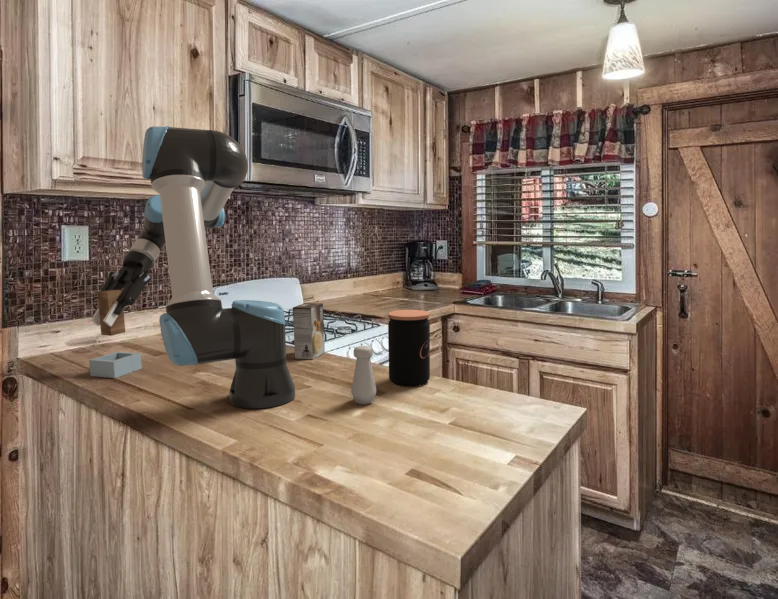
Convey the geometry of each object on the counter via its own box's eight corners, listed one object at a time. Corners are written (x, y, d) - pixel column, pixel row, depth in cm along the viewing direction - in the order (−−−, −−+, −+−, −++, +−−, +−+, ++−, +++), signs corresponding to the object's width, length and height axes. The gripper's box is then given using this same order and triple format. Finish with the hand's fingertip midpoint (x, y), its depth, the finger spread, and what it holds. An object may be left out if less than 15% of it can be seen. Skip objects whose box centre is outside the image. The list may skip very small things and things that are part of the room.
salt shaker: (367, 407, 118) (366, 350, 116) (346, 403, 121) (345, 347, 119) (381, 400, 123) (380, 345, 121) (361, 396, 126) (359, 342, 124)
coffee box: (306, 351, 170) (305, 302, 168) (325, 352, 169) (323, 303, 166) (294, 358, 162) (292, 306, 159) (313, 360, 160) (311, 307, 158)
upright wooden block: (125, 332, 150) (121, 290, 148) (111, 335, 145) (107, 292, 143) (115, 331, 151) (111, 289, 149) (101, 335, 146) (97, 291, 144)
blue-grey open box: (141, 368, 153) (140, 353, 152) (114, 378, 143) (113, 362, 143) (118, 366, 155) (117, 351, 154) (90, 375, 146) (89, 360, 145)
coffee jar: (427, 388, 131) (426, 317, 128) (385, 386, 133) (384, 316, 130) (432, 376, 141) (432, 310, 139) (393, 374, 143) (392, 309, 141)
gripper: (171, 266, 157) (133, 332, 144) (126, 265, 162) (86, 329, 149) (157, 249, 151) (117, 316, 138) (111, 249, 156) (67, 314, 143)
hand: (101, 323), depth 144 cm, fingers closed on upright wooden block, 3 cm apart
